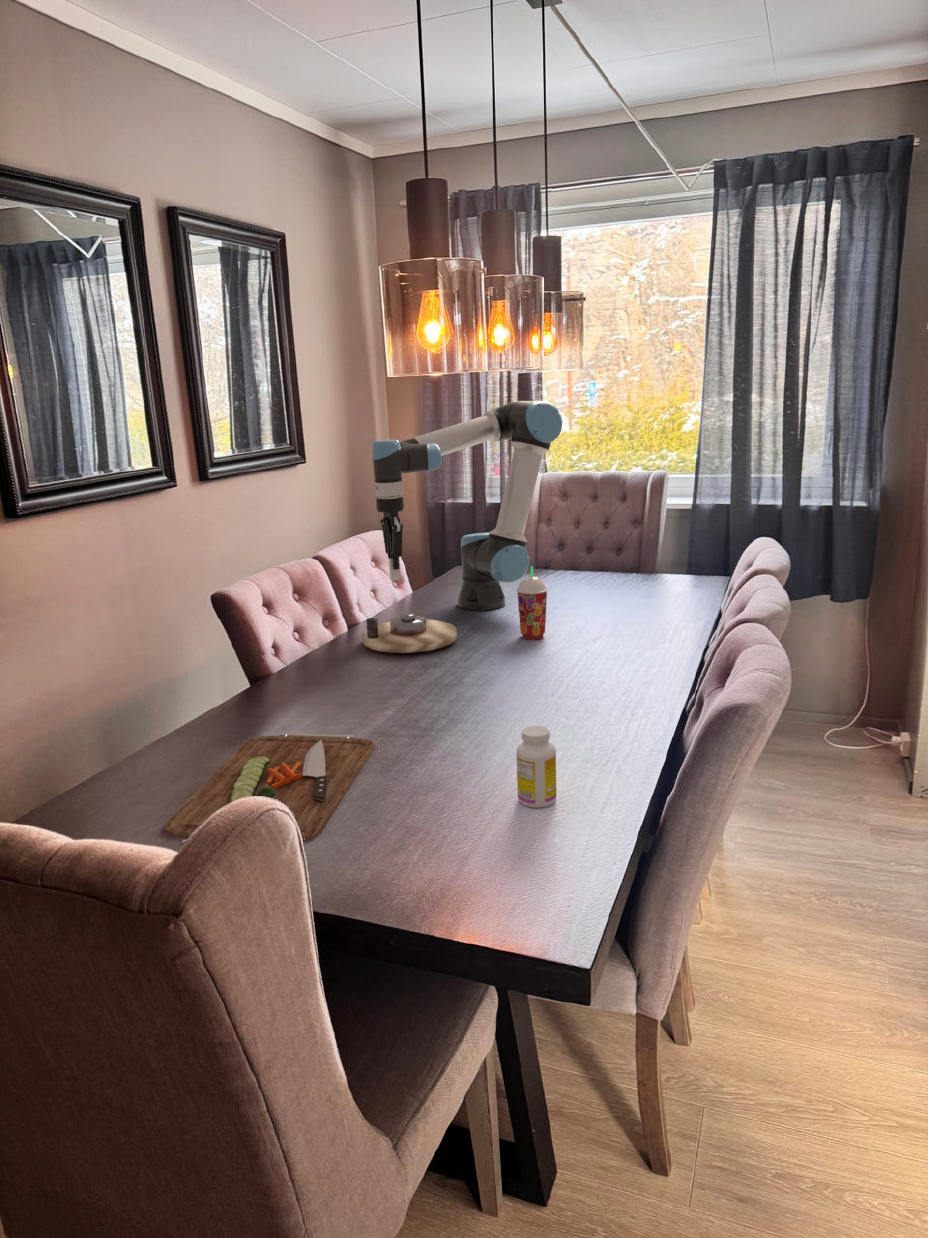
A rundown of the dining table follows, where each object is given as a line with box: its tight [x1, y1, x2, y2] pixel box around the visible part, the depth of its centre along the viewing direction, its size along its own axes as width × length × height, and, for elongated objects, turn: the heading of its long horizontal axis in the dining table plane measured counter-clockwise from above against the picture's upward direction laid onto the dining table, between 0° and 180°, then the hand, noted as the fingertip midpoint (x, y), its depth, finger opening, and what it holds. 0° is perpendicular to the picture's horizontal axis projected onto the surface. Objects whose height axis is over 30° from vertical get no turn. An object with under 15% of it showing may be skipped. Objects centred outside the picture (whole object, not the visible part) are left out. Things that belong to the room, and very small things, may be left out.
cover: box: [389, 612, 427, 636], centre depth 246 cm, size 10×10×4 cm
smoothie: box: [516, 565, 548, 641], centre depth 245 cm, size 8×8×20 cm
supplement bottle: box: [515, 725, 557, 809], centre depth 151 cm, size 7×7×13 cm
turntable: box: [361, 617, 458, 654], centre depth 245 cm, size 26×26×7 cm
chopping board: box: [163, 732, 375, 845], centre depth 163 cm, size 45×27×3 cm, turn 171°
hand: (395, 579), depth 252 cm, fingers closed
